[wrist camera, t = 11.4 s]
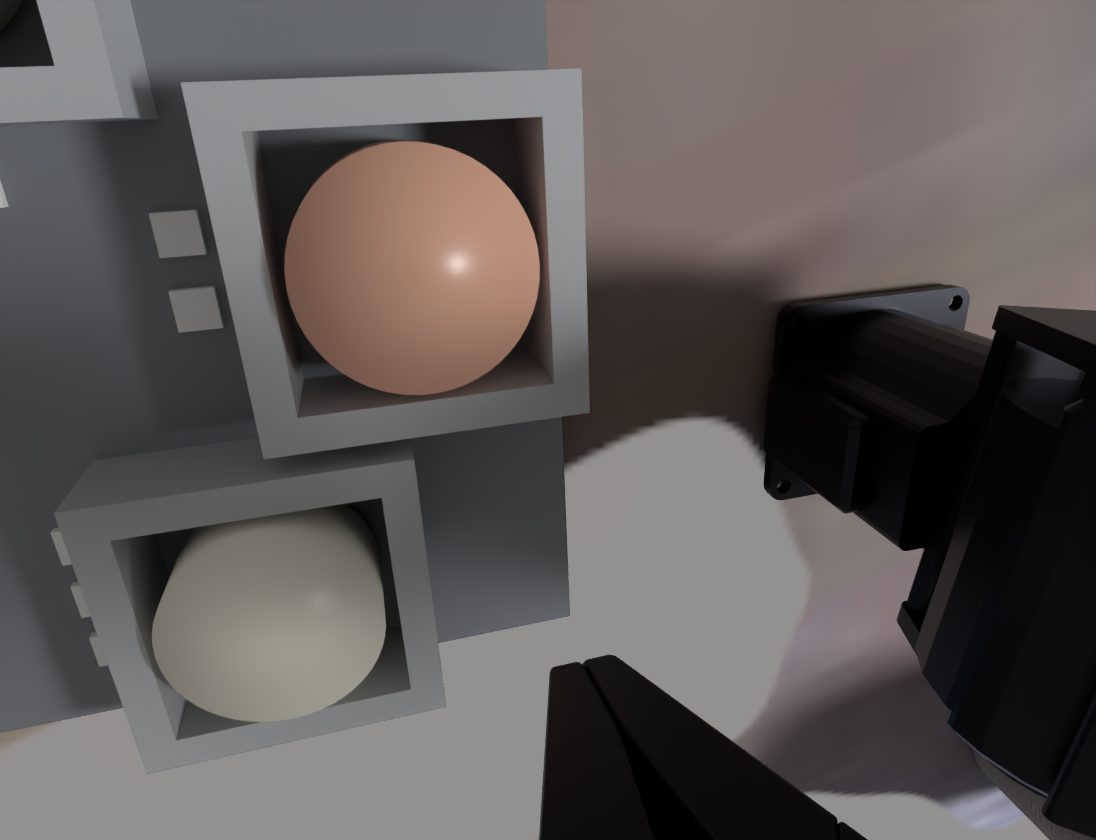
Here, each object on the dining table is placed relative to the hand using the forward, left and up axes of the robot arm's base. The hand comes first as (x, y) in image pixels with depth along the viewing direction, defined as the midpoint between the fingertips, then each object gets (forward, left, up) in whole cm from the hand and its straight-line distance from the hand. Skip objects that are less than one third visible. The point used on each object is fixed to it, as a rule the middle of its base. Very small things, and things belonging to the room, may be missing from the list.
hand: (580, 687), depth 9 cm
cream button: (+5, +3, -10) cm, 11 cm away
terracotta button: (+1, -4, -10) cm, 10 cm away
